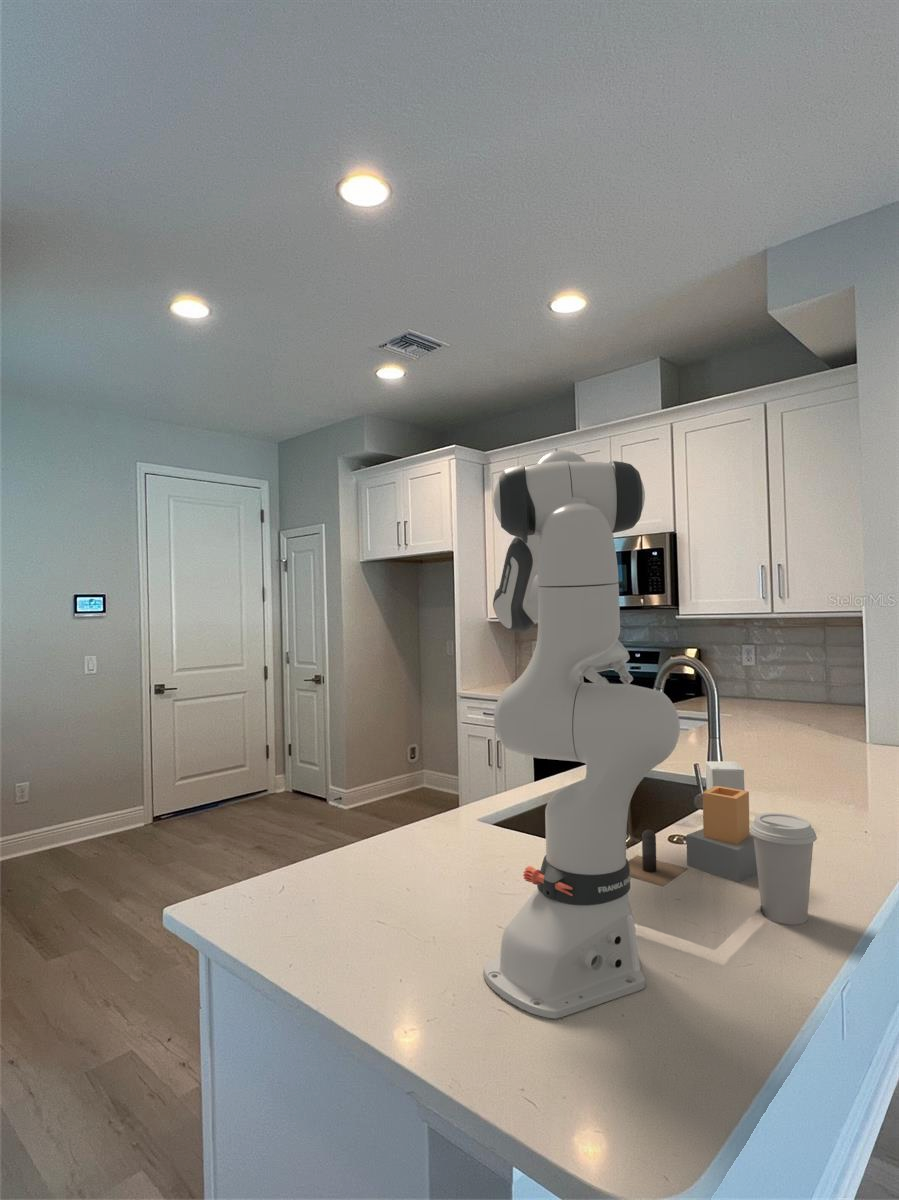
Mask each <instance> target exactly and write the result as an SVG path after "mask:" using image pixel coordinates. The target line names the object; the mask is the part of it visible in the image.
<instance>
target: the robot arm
mask: <svg viewBox="0 0 899 1200" xmlns="http://www.w3.org/2000/svg"><path fill="white" fill-rule="evenodd" d="M492 499H493V508H494V512H495V516H496V518H497V520H498V522H499V524H500V528H502V529H503V530H504V531H506V533H507V534H509V535H511V536H514V537H513V539H512V540H511V543H510V544H509V546H508V548H507V551H506V553H505V554H506V556H505V559H504V564H503V568H502V573H501V579H500V582H499V583H500V584H499V587H498V588H497V589H496V590H495V593H494V595H493V596H494V597H493V600H492V606H493V611H494V614H495V616H496V618H497V620H498V621H499V623H500V624H501V626H503V628H505V629H507V630H509V631H513V632H515V633H516V632H517V633H526V632H527V631H529V630H530V629H532V627H534V626H535V625H536V624H537V636H536V643H535V648H534V651H533V654H532V657H531V659H530V660H529V663H528V665H527V666H526V668H525V669H524V672H523V673H522V674H521V675H520V676H519V677H518V678H517V679H516V680H515V681H514V682H512V683H511V684H510V685H509V686H507V688H505V689H504V690H503V692H502V693H501V694H500V696H499V698H498V699H497V702H496V703H495V707H494V712H493V725H494V729H495V733H496V736H497V737H498V739H499V741H500V743H501V744H502V746H503V747H504V748H505V749H507V750H509V751H511V752H514V753H518V754H519V755H520V754H521V755H525V756H526V757H527V756H528V757H531V758H535V759H544V760H545V759H547V760H558V761H570V762H579V763H583V764H585V766H586V769H585V770H586V773H585V778H583V779H581V780H579V781H576V782H574V783H572V784H569V785H567V786H565V787H563V788H561V789H559V790H558V791H556V792H555V793H553V795H551V797H550V798H549V800H548V802H547V804H546V806H545V809H544V811H545V812H544V813H545V814H544V817H545V819H544V820H545V821H544V822H545V855H544V857H543V860H542V863H541V866H540V867H541V868H540V869H536V868H534V867H533V866H532V865H530V866H529V865H528V866H526V868H524V871H523V875H522V876H523V880H525V881H526V882H529V883H531V884H533V885H534V886H535V885H536V890H535V891H534V892H533V893H532V894H531V896H530V897H529V898H528V899H527V901H526V902H525V903H524V905H523V906H522V907H521V908H520V910H518V912H517V913H516V914H515V916H514V917H513V918H512V919H511V921H509V923H508V924H507V925H506V926H505V928H504V930H503V933H502V938H501V945H500V955H498V956H496V957H495V958H494V959H492V960H490V961H489V962H487V963H486V964H485V965H484V966H483V972H482V974H483V979H484V981H485V982H486V984H487V985H488V986H489V987H490V988H491V989H492V990H493V991H494V992H495V993H496V994H497V995H499V996H501V998H503V999H504V1000H506V1001H507V1002H509V1003H511V1004H512V1005H514V1006H516V1007H518V1008H520V1009H522V1010H523V1011H525V1012H528V1013H531V1014H533V1015H536V1016H540V1017H543V1018H547V1019H548V1018H549V1019H560V1018H562V1017H566V1016H570V1015H571V1014H574V1013H577V1012H579V1011H580V1012H581V1011H583V1010H586V1009H589V1008H592V1007H594V1006H598V1005H601V1004H603V1003H606V1002H609V1001H612V1000H615V999H618V998H621V997H624V996H627V995H630V994H633V993H636V992H638V991H641V990H643V989H645V988H646V985H647V984H646V978H645V975H644V973H643V971H642V970H641V968H642V967H641V966H642V963H641V960H640V956H639V950H638V941H637V934H636V932H637V931H636V927H635V919H634V915H633V912H632V908H631V904H630V899H629V894H628V893H629V891H630V889H631V873H630V868H629V860H628V859H627V825H628V823H627V822H628V814H629V808H630V803H631V800H632V798H633V795H634V793H635V791H636V789H637V787H638V785H640V782H641V781H643V779H644V778H645V776H646V775H647V774H649V772H650V771H652V770H653V769H655V768H656V767H657V766H659V765H660V764H662V763H663V762H665V761H666V760H667V759H668V758H669V757H670V756H671V754H672V753H673V752H674V750H675V748H676V746H677V743H678V741H679V739H680V738H679V737H680V730H681V723H680V717H679V714H678V710H677V709H676V707H675V705H674V703H673V702H672V700H671V699H670V697H668V695H666V693H664V691H660V690H657V689H652V688H649V687H645V686H639V685H636V684H631V682H633V680H634V677H633V676H632V675H631V674H630V672H629V670H628V667H627V662H629V660H630V659H631V658H630V657H631V656H630V654H629V651H628V650H627V648H625V646H624V645H623V643H621V641H620V640H619V638H620V633H621V614H620V613H621V612H620V611H621V609H620V608H621V607H620V584H619V568H618V567H619V566H618V558H617V551H616V544H615V540H614V535H613V534H616V533H620V532H621V533H622V532H624V531H627V530H631V529H633V528H635V526H636V525H637V523H638V522H639V521H640V519H641V516H642V512H643V510H644V507H645V501H646V500H645V499H646V492H645V488H644V484H643V480H642V478H641V474H640V472H639V470H637V469H636V468H635V467H634V465H632V464H631V463H628V462H624V461H616V460H610V461H609V462H602V461H601V462H600V461H586V460H585V459H584V458H583V457H582V456H581V455H579V454H577V453H576V452H574V451H571V450H564V449H563V450H560V449H559V450H554V451H551V452H549V453H546V454H545V455H543V456H542V457H541V458H540V459H539V460H538V461H537V462H536V464H533V465H527V466H525V465H524V464H521V465H516V466H511V467H509V468H506V469H504V470H503V472H502V473H501V474H500V475H499V476H498V480H497V484H496V486H495V488H494V493H493V498H492ZM610 670H613V671H614V672H615V673H618V675H619V677H620V678H619V680H620V681H621V682H622V683H610V682H609V680H608V679H607V677H605V676H602V675H600V672H604V671H605V672H606V671H610ZM582 675H583V676H584V677H585V679H587V680H589V682H585V681H580V676H582Z"/></svg>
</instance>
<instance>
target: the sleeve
mask: <svg viewBox="0 0 899 1200" xmlns="http://www.w3.org/2000/svg"><path fill="white" fill-rule="evenodd" d="M749 794H750V791H749V790H745V791H744V790H738V789H733V788H727V787H721V786H714V787H713V788H711V789H709V790H707V789H706V790H704V791H703V792H702V819H703V820H702V826H703V828H702V829H703V833H704V837H707V838H711V839H715V840H720V841H724V842H729V843H733V844H738V843H740V842H741V841H742V840H744V839H745V838H747V837H748V836H749V835H750V795H749Z"/></svg>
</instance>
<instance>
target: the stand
mask: <svg viewBox="0 0 899 1200" xmlns="http://www.w3.org/2000/svg"><path fill="white" fill-rule="evenodd" d="M641 850H642V853H641V855H639V854H638V855H635V856H634V857H632V858H630V859H629V860H628V861H629V868H630V873H631V878H632V879H636V880H639V881H642V882H647V883H650V884H653V885H657V886H660V887H665V886H667V885H668V884H670V882H672V881H673V880H675V879H676V878H677V877H679V876H680V875H682V874H683V873H684V872H686V871H687V870H688V869H689V868H688V867H684V866H681V865H676V864H673V863H669V862H666V861H665V862H664V861H661V860H658V859H657V836H656V833H655V832H654V831H653V830H651V829H646V830H644V831H642V834H641Z"/></svg>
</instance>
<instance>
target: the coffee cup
mask: <svg viewBox="0 0 899 1200" xmlns="http://www.w3.org/2000/svg"><path fill="white" fill-rule="evenodd" d="M749 828H750V832H751V834H752V835H753V837H754V846H755V854H756V863H757V872H758V873H757V879H758V889H759V897H760V904H761V905H760V907H761V914H762V915H763V916H764V917H765V918H766V919H768V920H770V921H771V922H774V923H778V924H783V925H788V926H790V925H791V926H793V925H794V926H798V925H803V924H804V923H806V922H807V921H808V914H809V913H808V912H809V903H810V902H809V901H810V887H811V876H812V873H811V872H812V863H813V862H812V861H813V859H812V858H813V849H814V842H816V841H817V840H818V839H817V838H818V837H817V833H816V831H815V829H814V828H813V827H812V824H811V822H810V821H809V820H807V818H804V817H801V816H798V815H794V814H790V813H781V812H765V813H760V814H756V816H755V817H754V820H753V822H752V823H751V825H750V826H749Z"/></svg>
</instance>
